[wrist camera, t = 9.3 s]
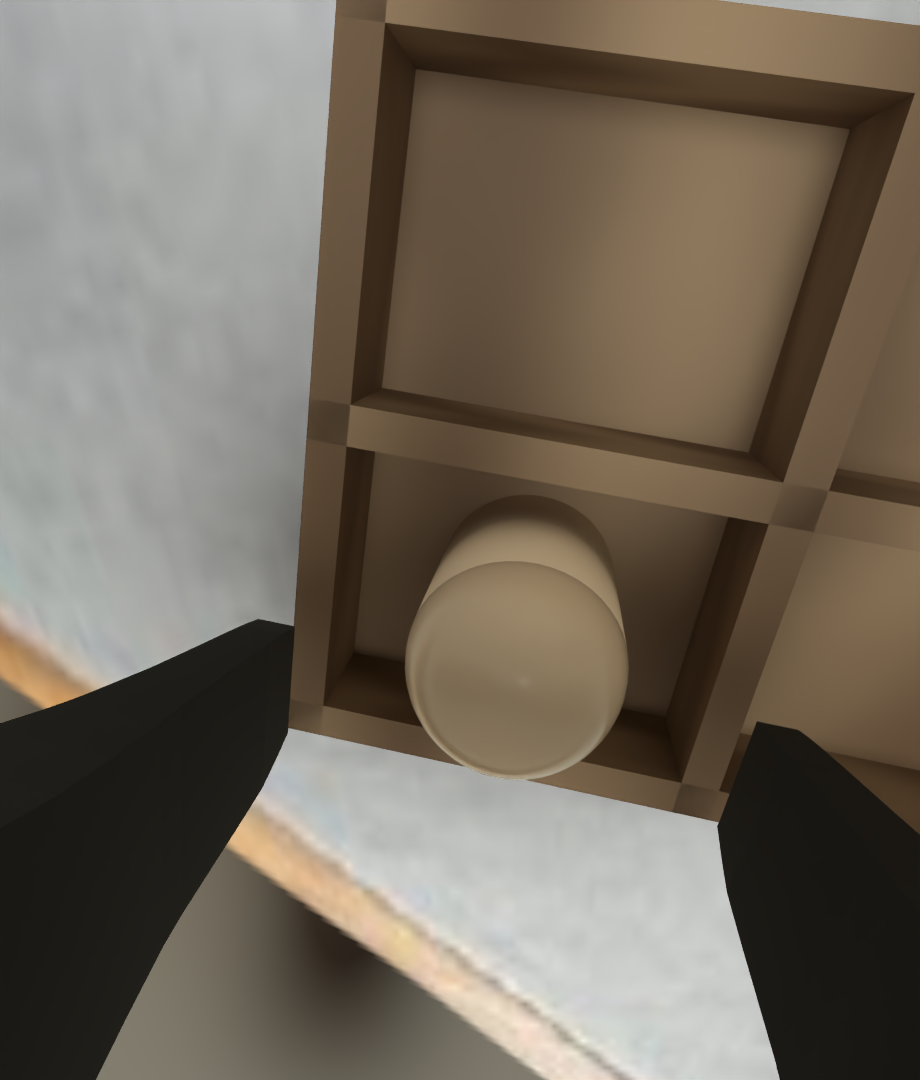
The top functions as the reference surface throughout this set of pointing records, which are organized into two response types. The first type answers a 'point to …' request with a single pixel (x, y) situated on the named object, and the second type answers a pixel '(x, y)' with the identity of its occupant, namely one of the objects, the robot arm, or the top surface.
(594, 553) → the cylinder
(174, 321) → the top surface
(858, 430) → the crate
